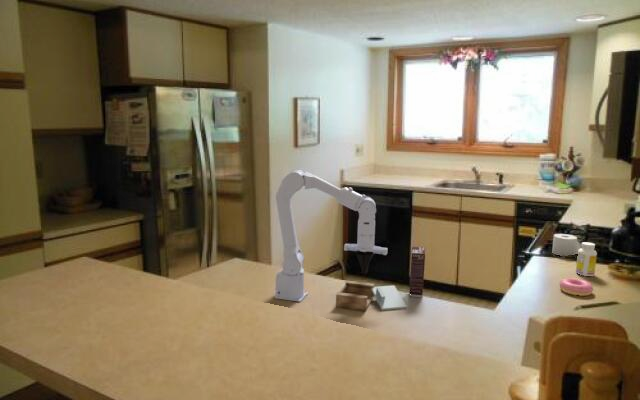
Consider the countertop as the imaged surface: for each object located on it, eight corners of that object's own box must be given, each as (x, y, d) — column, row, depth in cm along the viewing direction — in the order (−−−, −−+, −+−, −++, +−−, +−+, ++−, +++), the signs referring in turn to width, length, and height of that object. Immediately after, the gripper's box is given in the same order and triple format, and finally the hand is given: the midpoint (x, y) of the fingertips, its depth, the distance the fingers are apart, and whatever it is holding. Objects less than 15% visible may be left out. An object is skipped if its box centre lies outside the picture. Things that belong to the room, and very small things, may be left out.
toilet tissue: (586, 256, 219) (588, 238, 217) (561, 258, 215) (563, 239, 214) (571, 250, 227) (573, 233, 226) (547, 252, 224) (549, 234, 222)
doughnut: (598, 294, 174) (600, 283, 173) (581, 299, 169) (582, 288, 168) (570, 284, 183) (571, 274, 183) (552, 289, 178) (553, 279, 177)
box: (335, 307, 159) (336, 294, 158) (346, 292, 172) (347, 280, 172) (365, 311, 156) (366, 298, 155) (374, 295, 169) (374, 283, 168)
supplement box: (423, 298, 168) (425, 254, 165) (408, 296, 169) (411, 253, 166) (422, 289, 176) (425, 247, 173) (409, 287, 177) (411, 246, 174)
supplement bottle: (594, 273, 195) (598, 243, 193) (593, 278, 190) (597, 246, 187) (576, 270, 199) (579, 240, 196) (574, 275, 193) (578, 244, 191)
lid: (381, 310, 157) (382, 303, 156) (370, 289, 167) (371, 281, 166) (406, 308, 159) (407, 301, 158) (394, 287, 169) (395, 280, 168)
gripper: (341, 234, 160) (340, 273, 162) (385, 239, 155) (383, 279, 158) (347, 229, 166) (346, 267, 169) (389, 233, 162) (387, 272, 165)
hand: (364, 272), depth 164 cm, fingers closed
